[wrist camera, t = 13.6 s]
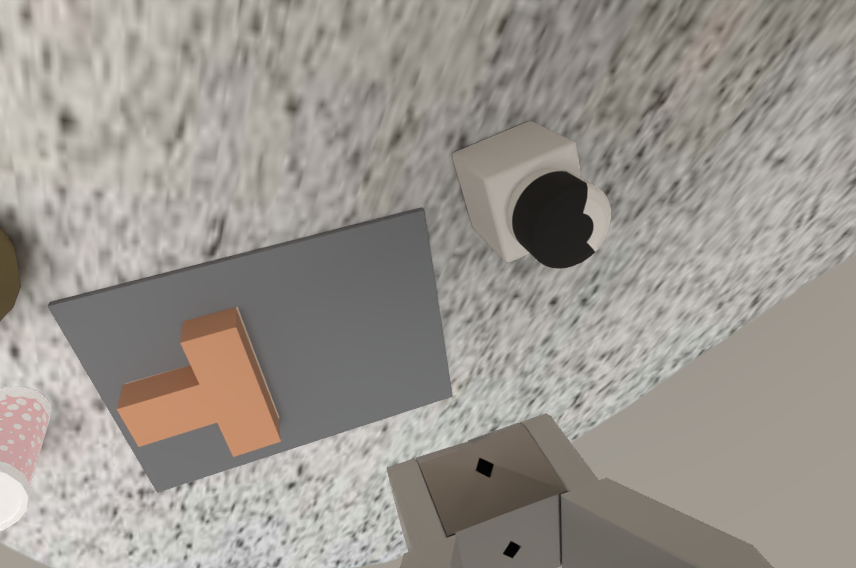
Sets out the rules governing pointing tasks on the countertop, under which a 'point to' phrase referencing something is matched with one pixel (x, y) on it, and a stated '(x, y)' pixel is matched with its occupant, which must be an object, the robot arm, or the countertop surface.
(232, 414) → the t block
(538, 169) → the medicine bottle
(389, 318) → the board
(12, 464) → the beverage cup
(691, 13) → the countertop surface
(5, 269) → the squeeze bottle
